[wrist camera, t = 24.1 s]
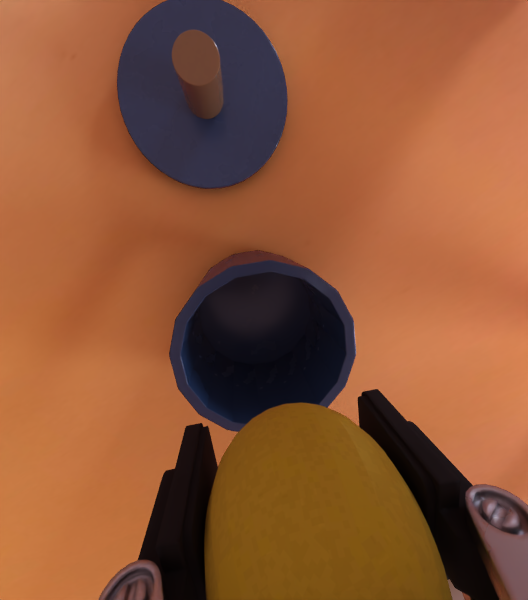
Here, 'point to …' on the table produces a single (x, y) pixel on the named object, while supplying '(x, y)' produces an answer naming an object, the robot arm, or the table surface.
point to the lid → (202, 92)
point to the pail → (261, 339)
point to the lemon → (315, 516)
